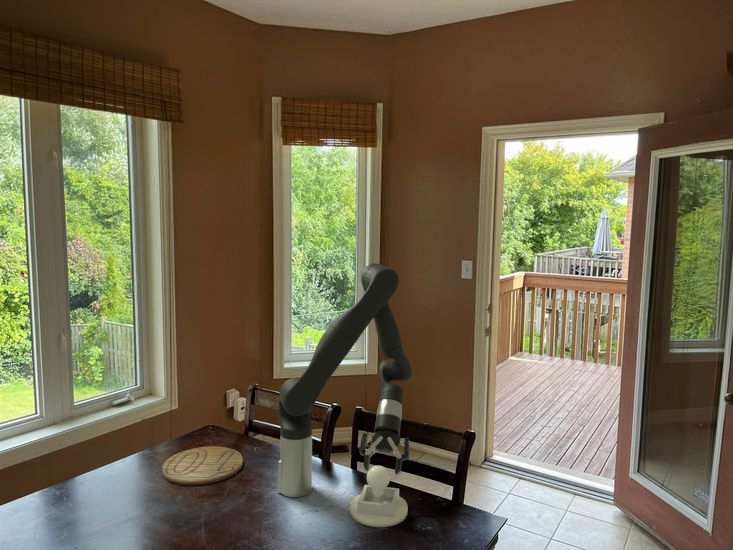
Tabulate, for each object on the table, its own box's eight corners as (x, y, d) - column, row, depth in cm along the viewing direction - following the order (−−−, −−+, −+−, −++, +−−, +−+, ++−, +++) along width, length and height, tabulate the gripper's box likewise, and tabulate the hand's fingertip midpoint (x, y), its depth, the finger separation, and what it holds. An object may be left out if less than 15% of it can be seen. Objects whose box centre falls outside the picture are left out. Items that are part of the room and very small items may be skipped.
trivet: (250, 452, 183) (250, 446, 183) (232, 487, 158) (232, 481, 158) (178, 451, 183) (178, 445, 183) (149, 486, 158) (149, 480, 158)
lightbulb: (387, 512, 142) (387, 472, 141) (364, 509, 143) (364, 470, 142) (391, 500, 148) (391, 462, 147) (369, 498, 149) (369, 460, 148)
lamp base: (343, 523, 139) (344, 506, 139) (356, 493, 155) (356, 478, 154) (403, 530, 136) (404, 513, 136) (410, 499, 152) (410, 484, 151)
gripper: (364, 410, 157) (355, 464, 147) (411, 414, 154) (405, 469, 144) (367, 421, 163) (358, 473, 152) (413, 425, 160) (407, 479, 150)
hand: (381, 471), depth 148 cm, fingers open, 8 cm apart
